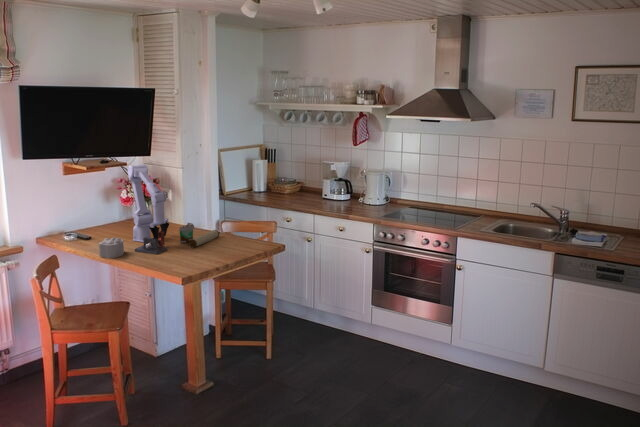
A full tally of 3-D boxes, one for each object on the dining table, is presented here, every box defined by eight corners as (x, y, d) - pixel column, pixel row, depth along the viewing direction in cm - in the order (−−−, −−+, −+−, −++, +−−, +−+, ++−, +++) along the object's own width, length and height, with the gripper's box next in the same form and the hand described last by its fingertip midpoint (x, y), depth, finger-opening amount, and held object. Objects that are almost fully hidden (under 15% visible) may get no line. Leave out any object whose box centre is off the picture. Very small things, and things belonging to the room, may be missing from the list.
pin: (158, 244, 339) (158, 230, 337) (164, 244, 338) (164, 231, 336) (144, 250, 327) (143, 235, 325) (150, 250, 326) (149, 236, 324)
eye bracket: (145, 246, 337) (145, 234, 335) (167, 249, 332) (166, 237, 330) (134, 251, 327) (134, 239, 326) (156, 254, 323) (156, 242, 321)
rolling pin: (192, 250, 333) (192, 241, 332) (184, 248, 335) (184, 240, 334) (223, 236, 362) (223, 228, 361) (215, 235, 364) (215, 227, 363)
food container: (189, 245, 342) (189, 228, 340) (179, 244, 343) (179, 227, 341) (198, 239, 354) (197, 223, 352) (188, 238, 355) (187, 222, 353)
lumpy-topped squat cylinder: (96, 256, 317) (95, 240, 315) (113, 250, 329) (112, 235, 327) (112, 258, 314) (112, 243, 312) (128, 252, 326) (128, 237, 324)
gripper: (157, 217, 325) (158, 241, 328) (172, 211, 339) (173, 235, 342) (146, 215, 328) (147, 239, 331) (161, 210, 341) (162, 233, 344)
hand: (159, 237), depth 336 cm, fingers open, 7 cm apart
